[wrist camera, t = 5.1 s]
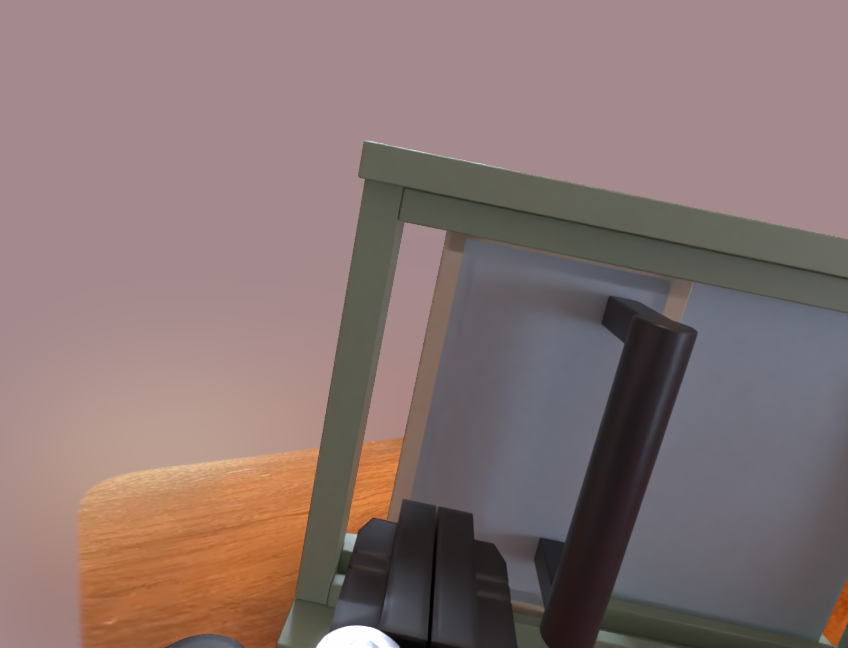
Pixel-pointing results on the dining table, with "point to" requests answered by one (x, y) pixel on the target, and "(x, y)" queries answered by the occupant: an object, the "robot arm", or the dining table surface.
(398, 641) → the robot arm
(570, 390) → the sash
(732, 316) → the window frame
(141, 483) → the dining table surface
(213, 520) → the dining table surface
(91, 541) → the dining table surface
